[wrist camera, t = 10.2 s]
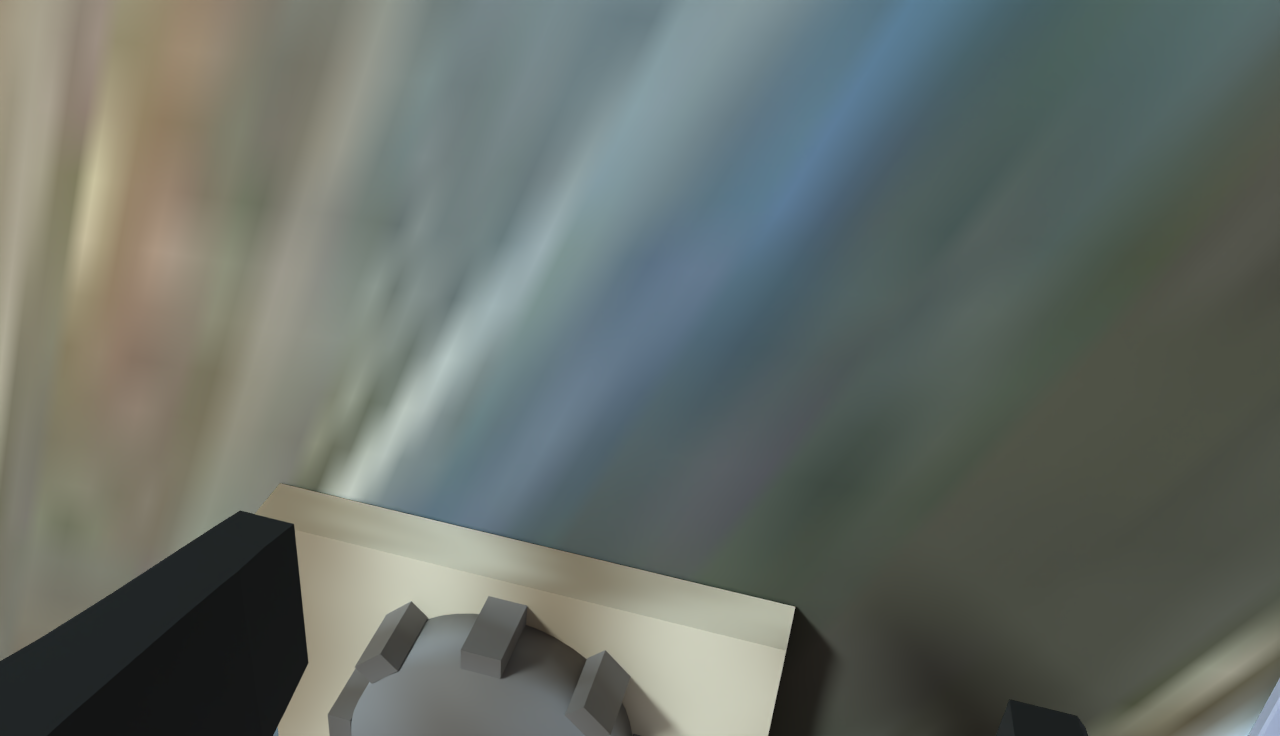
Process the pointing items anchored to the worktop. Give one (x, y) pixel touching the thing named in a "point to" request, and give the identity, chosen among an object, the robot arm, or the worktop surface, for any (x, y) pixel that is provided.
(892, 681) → the worktop surface
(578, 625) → the gear board
